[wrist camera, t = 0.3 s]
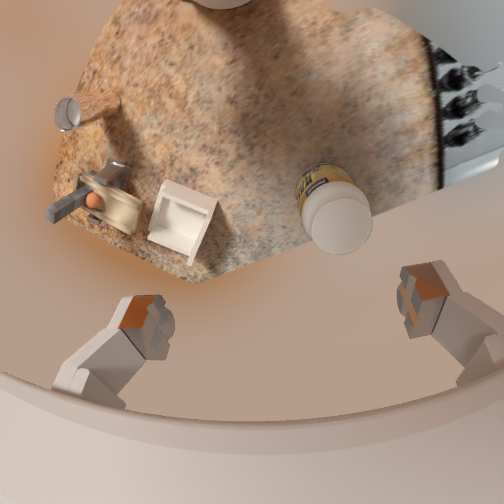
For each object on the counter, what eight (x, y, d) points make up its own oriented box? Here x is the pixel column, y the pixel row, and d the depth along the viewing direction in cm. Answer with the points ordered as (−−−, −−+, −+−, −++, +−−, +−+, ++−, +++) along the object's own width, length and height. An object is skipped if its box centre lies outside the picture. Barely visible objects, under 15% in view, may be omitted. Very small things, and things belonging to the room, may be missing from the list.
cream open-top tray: (151, 224, 62) (138, 244, 55) (166, 179, 56) (151, 195, 48) (198, 243, 65) (190, 266, 57) (217, 200, 59) (210, 219, 51)
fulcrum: (100, 201, 59) (81, 219, 51) (109, 157, 53) (88, 171, 45) (120, 210, 60) (103, 229, 53) (131, 166, 54) (113, 181, 47)
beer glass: (112, 81, 43) (70, 86, 31) (128, 105, 47) (89, 116, 34) (90, 101, 45) (46, 112, 33) (105, 124, 49) (64, 141, 36)
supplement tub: (310, 151, 52) (329, 179, 38) (360, 176, 54) (392, 211, 40) (284, 202, 58) (292, 245, 44) (333, 222, 61) (353, 268, 47)
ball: (91, 192, 50) (81, 197, 47) (100, 188, 49) (89, 193, 46) (96, 206, 51) (85, 211, 49) (105, 203, 50) (95, 208, 48)
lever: (87, 196, 55) (40, 227, 42) (93, 165, 51) (41, 191, 37) (142, 225, 57) (101, 266, 43) (151, 194, 53) (106, 229, 39)
